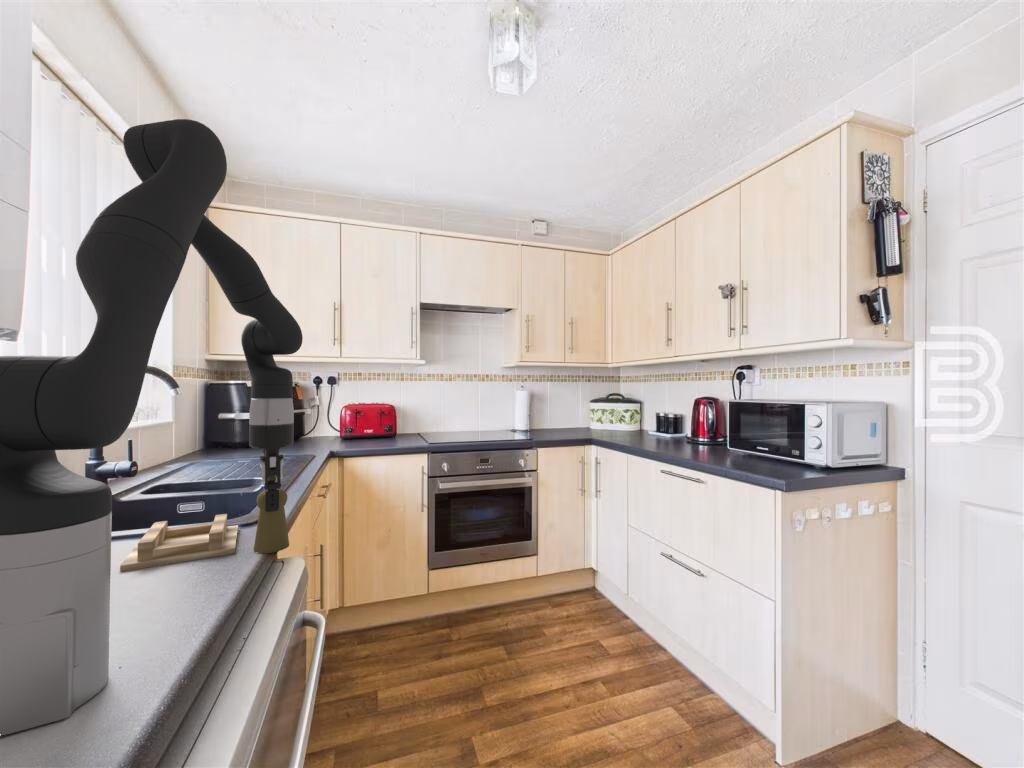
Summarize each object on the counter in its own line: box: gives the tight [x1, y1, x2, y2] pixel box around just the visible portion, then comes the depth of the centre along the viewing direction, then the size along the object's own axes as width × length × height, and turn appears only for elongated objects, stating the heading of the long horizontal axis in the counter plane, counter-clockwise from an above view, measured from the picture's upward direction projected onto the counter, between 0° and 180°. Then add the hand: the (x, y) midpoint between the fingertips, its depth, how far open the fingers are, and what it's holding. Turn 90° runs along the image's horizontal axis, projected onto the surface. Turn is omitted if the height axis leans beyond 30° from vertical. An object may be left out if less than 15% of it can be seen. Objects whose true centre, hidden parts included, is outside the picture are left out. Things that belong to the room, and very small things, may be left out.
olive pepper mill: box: [253, 488, 290, 554], centre depth 83 cm, size 6×6×11 cm
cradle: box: [119, 513, 239, 573], centre depth 82 cm, size 16×16×4 cm
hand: (271, 505), depth 83 cm, fingers open, 8 cm apart
